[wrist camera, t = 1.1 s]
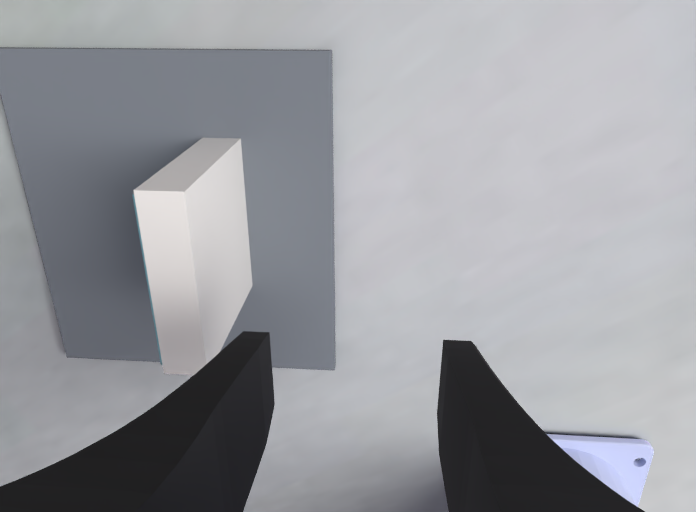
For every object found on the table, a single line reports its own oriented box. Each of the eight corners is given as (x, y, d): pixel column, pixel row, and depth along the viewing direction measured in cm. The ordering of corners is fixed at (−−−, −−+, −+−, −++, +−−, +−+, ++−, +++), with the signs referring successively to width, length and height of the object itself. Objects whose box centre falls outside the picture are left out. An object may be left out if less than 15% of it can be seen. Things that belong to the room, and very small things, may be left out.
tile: (252, 285, 23) (207, 375, 18) (215, 283, 23) (159, 373, 18) (241, 138, 21) (184, 192, 15) (198, 137, 21) (127, 190, 15)
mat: (335, 364, 25) (334, 370, 25) (71, 352, 26) (66, 357, 25) (331, 50, 19) (330, 51, 19) (-4, 47, 20) (-11, 48, 20)
